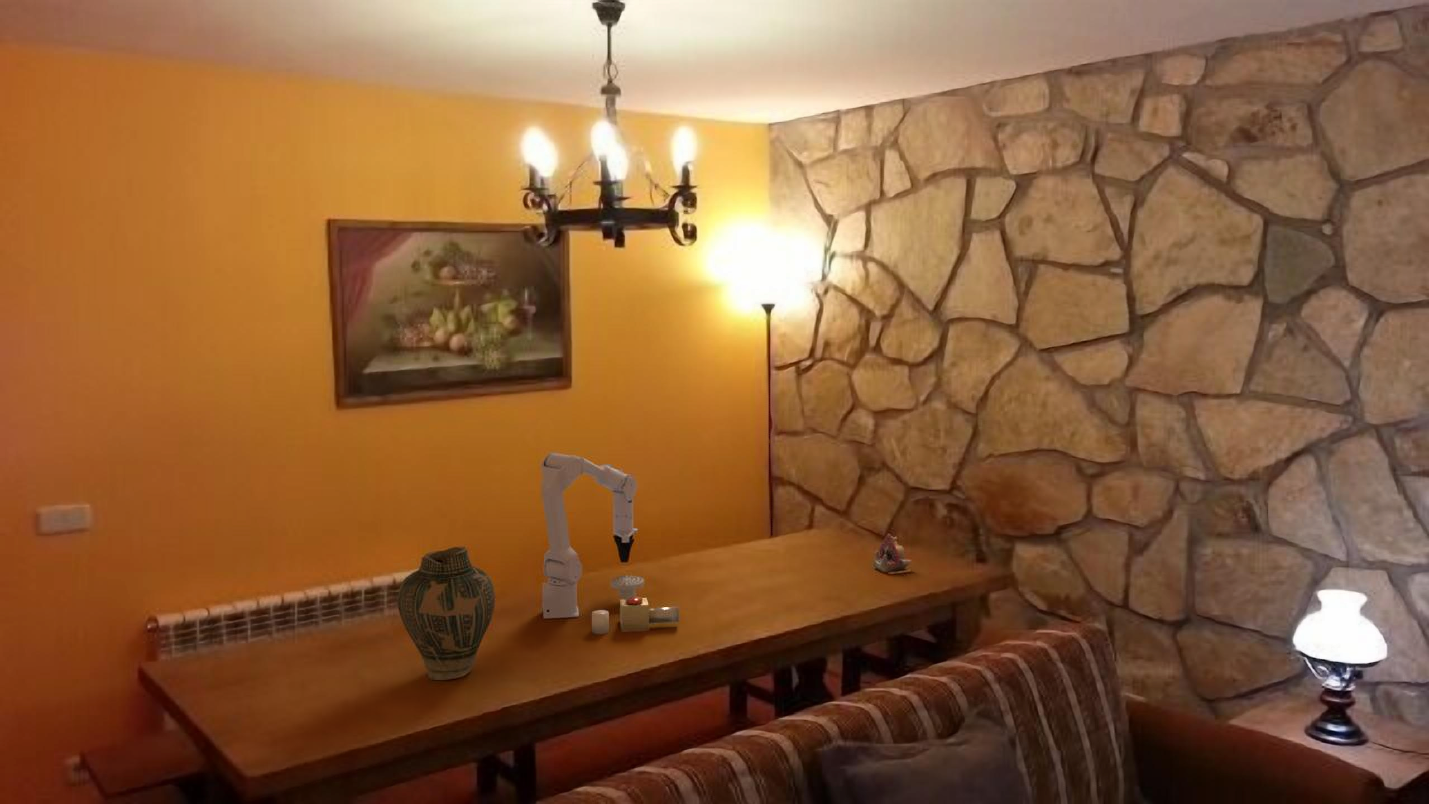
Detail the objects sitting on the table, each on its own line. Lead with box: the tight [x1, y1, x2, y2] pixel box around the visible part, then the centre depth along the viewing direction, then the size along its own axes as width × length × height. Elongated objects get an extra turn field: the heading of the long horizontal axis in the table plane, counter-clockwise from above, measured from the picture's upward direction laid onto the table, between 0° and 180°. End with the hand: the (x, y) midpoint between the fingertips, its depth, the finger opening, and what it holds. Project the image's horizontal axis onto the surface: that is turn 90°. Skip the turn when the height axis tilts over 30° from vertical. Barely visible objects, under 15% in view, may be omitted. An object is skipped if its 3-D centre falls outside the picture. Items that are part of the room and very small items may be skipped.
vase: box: [397, 546, 496, 681], centre depth 268 cm, size 22×22×30 cm
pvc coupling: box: [591, 609, 610, 635], centre depth 299 cm, size 4×4×5 cm
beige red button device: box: [619, 596, 680, 633], centre depth 304 cm, size 15×11×8 cm
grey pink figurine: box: [872, 533, 912, 575], centre depth 356 cm, size 11×11×12 cm
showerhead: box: [609, 574, 645, 599], centre depth 323 cm, size 9×7×10 cm
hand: (623, 560), depth 331 cm, fingers open, 2 cm apart
